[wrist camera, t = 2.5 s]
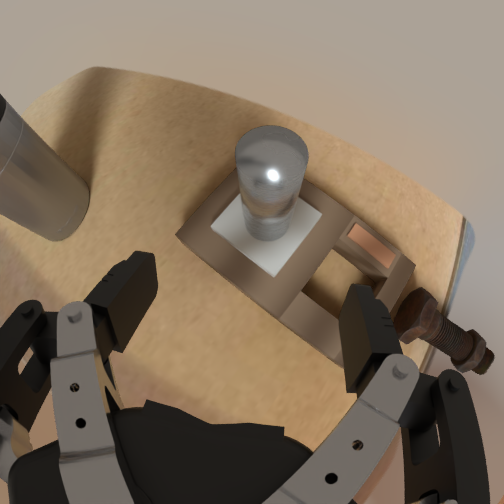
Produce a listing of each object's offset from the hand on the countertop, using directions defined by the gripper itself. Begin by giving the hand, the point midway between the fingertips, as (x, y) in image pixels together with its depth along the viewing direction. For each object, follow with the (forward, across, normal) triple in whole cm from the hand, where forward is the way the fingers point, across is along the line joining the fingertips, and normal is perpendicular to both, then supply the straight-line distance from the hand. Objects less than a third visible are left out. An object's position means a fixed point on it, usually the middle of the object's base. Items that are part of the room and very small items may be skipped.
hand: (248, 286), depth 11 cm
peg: (+14, 0, +3) cm, 14 cm away
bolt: (+10, -22, +13) cm, 27 cm away
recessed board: (+15, -4, +7) cm, 17 cm away
